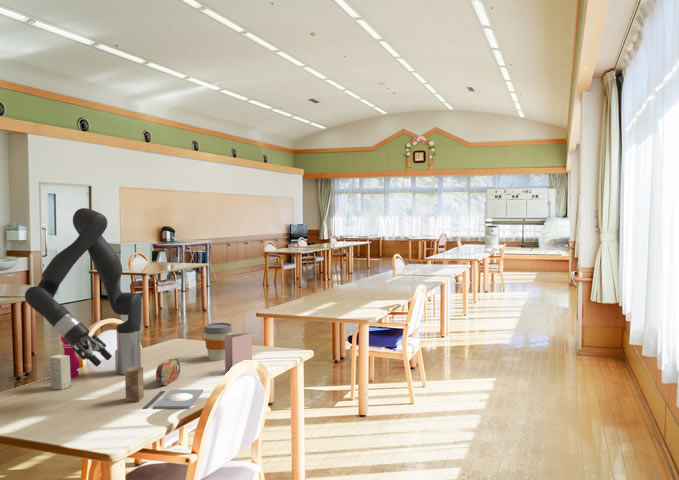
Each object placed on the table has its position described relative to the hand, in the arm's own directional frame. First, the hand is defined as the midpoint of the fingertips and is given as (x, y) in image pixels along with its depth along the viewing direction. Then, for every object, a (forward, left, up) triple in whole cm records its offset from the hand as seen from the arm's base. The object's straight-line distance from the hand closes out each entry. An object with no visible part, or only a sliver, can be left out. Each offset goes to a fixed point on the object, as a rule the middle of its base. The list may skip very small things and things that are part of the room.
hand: (104, 361), depth 197 cm
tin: (+15, +21, -14) cm, 30 cm away
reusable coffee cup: (+26, +58, -14) cm, 65 cm away
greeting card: (+40, +37, -14) cm, 57 cm away
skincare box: (-24, +14, -14) cm, 31 cm away
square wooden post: (+10, 0, -14) cm, 17 cm away
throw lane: (+25, 0, -14) cm, 28 cm away
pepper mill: (-28, +29, -14) cm, 42 cm away
